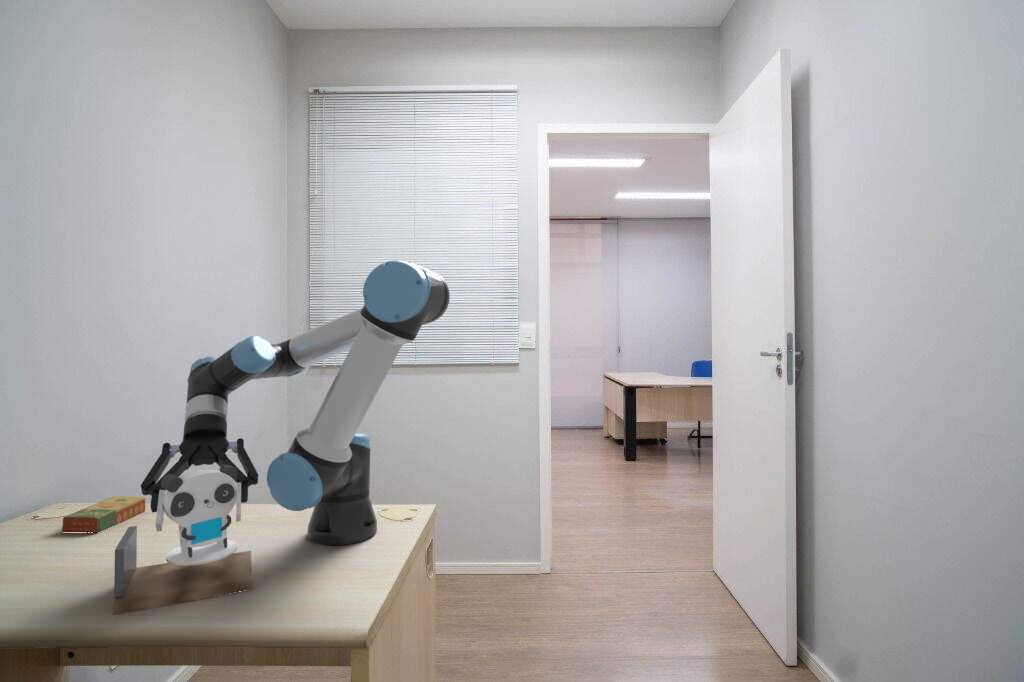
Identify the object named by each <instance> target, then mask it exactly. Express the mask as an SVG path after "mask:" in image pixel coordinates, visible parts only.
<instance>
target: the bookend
mask: <svg viewBox="0 0 1024 682" xmlns="http://www.w3.org/2000/svg"><path fill="white" fill-rule="evenodd" d="M137 537H138V526H137V525H133V526H128V527H127V529H126V531H125V533H124V534H123V536H121V539H120V541H119V542H118V544H117V545H116V547H115V549H114V582H113V583H114V585H113V586H114V591H113V592H114V597H113V599H114V600H115V599H121V598H124V596H125V593H126V591H127V589H128V587H129V585H130V583H131V580H132V578H133V576H134V574H135V572H136V569H137V568H138V567H137V563H138V561H137V555H138V554H137V553H138V551H137V548H138V542H137V541H138V539H137ZM114 600H113V601H114Z"/></svg>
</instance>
